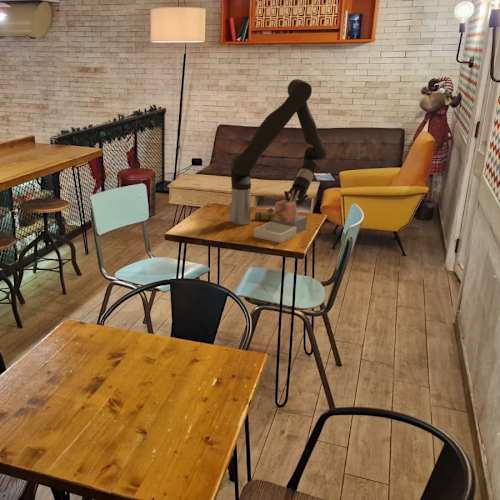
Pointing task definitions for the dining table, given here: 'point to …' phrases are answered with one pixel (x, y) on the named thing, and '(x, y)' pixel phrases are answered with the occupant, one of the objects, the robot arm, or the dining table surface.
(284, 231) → the box
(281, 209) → the terracotta block
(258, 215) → the gavel
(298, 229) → the grey platform
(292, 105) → the robot arm
